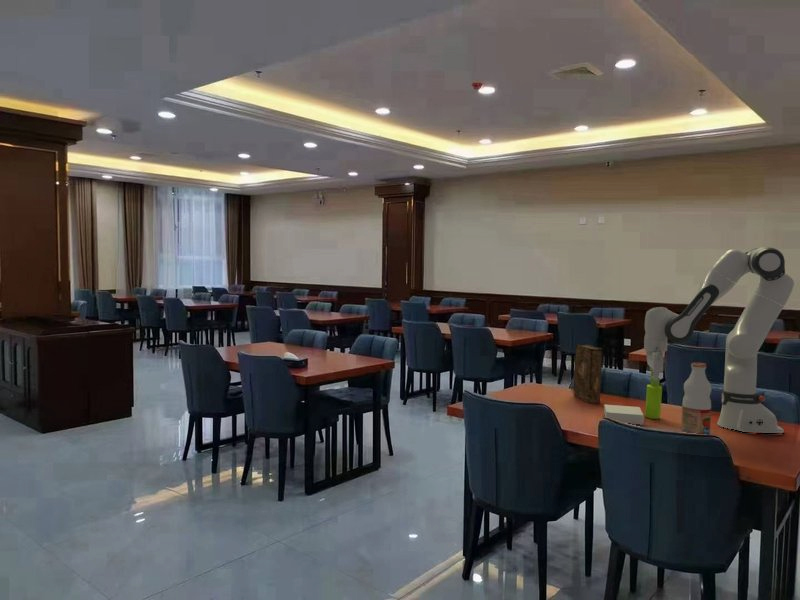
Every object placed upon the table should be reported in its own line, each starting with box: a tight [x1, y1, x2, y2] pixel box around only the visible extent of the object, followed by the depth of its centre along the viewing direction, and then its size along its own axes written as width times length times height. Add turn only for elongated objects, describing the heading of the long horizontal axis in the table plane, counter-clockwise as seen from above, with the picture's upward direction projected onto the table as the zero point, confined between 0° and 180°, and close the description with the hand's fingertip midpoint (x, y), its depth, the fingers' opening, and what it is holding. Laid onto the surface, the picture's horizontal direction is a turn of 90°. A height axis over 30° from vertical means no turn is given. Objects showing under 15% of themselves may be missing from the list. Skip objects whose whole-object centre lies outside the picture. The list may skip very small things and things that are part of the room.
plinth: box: [603, 403, 645, 426], centre depth 244 cm, size 14×14×4 cm
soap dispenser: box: [644, 368, 663, 420], centre depth 247 cm, size 6×7×20 cm
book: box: [573, 344, 603, 404], centre depth 278 cm, size 16×6×25 cm, turn 10°
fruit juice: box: [680, 361, 712, 435], centre depth 217 cm, size 9×9×28 cm
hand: (654, 379), depth 246 cm, fingers closed on soap dispenser, 4 cm apart
